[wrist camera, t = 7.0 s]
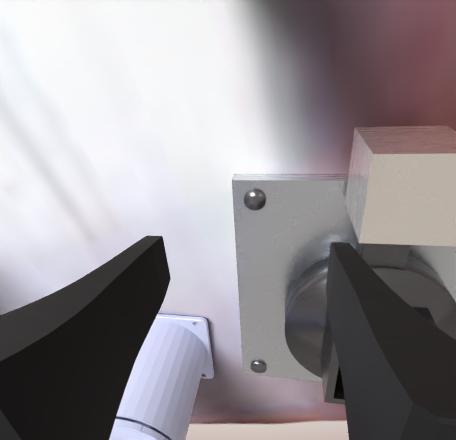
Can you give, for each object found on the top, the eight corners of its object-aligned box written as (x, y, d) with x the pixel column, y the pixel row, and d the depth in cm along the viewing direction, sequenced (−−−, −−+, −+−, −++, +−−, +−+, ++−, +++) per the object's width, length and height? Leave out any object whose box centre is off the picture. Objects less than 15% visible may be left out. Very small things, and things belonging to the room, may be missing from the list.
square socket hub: (283, 355, 27) (282, 419, 22) (291, 128, 18) (292, 161, 13) (427, 369, 25) (457, 441, 21) (520, 123, 16) (611, 159, 11)
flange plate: (244, 364, 30) (243, 375, 29) (234, 174, 21) (231, 181, 20) (482, 387, 27) (490, 401, 26) (596, 174, 18) (615, 183, 17)
